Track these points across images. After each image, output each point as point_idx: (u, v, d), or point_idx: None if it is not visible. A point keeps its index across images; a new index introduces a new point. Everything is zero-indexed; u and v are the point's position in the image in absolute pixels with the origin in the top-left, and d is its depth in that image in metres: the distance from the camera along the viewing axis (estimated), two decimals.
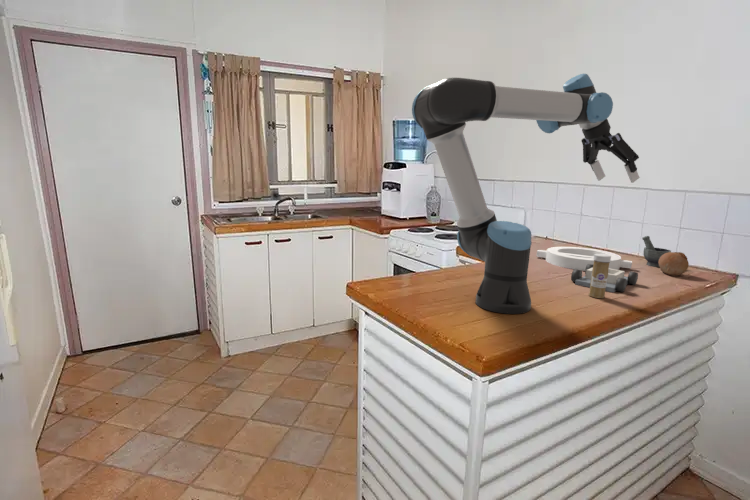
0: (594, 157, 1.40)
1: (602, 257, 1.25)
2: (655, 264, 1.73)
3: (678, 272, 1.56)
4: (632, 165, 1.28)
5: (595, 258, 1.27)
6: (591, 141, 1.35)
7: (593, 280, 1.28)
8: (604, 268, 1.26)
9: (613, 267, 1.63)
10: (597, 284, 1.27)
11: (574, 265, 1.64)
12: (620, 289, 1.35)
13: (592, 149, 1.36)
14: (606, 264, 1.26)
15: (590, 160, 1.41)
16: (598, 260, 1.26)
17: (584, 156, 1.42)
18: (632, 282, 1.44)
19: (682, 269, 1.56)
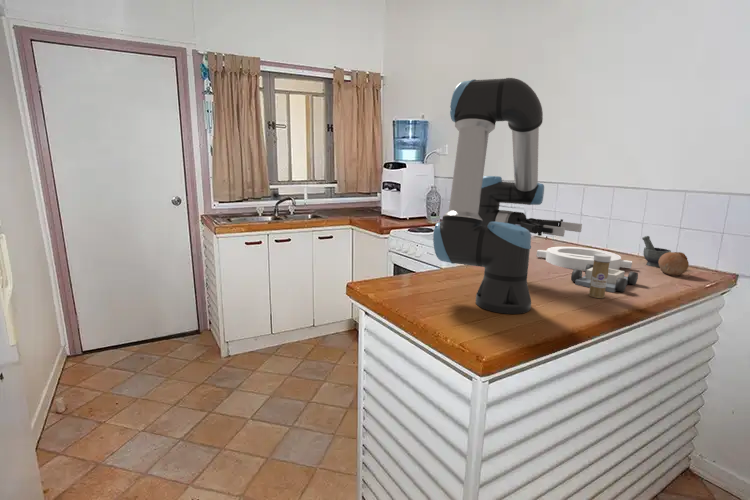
0: None
1: (602, 257, 1.25)
2: (655, 264, 1.73)
3: (678, 272, 1.56)
4: None
5: (595, 258, 1.27)
6: (523, 221, 1.42)
7: (593, 280, 1.28)
8: (604, 268, 1.26)
9: (613, 268, 1.63)
10: (597, 284, 1.27)
11: (574, 265, 1.64)
12: (620, 289, 1.35)
13: (530, 220, 1.39)
14: (606, 264, 1.26)
15: (539, 224, 1.34)
16: (598, 260, 1.26)
17: (531, 224, 1.34)
18: (632, 282, 1.44)
19: (682, 269, 1.56)
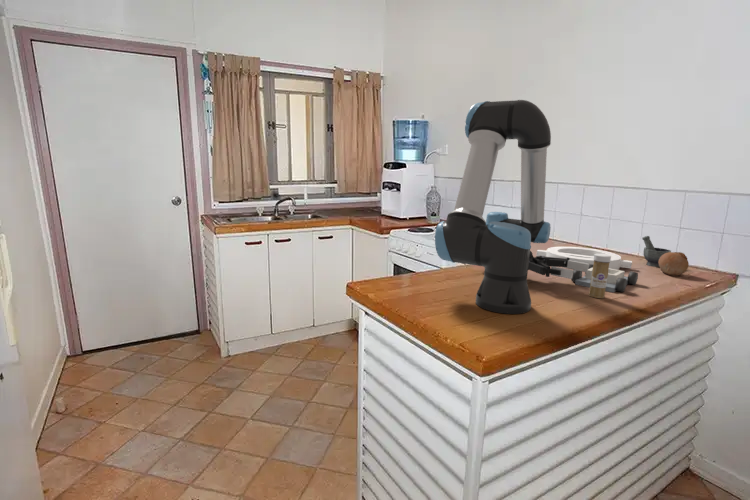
0: None
1: (602, 257, 1.25)
2: (655, 264, 1.73)
3: (678, 272, 1.56)
4: None
5: (595, 258, 1.27)
6: (530, 260, 1.42)
7: (593, 280, 1.28)
8: (604, 268, 1.26)
9: (613, 267, 1.63)
10: (597, 284, 1.27)
11: None
12: (620, 289, 1.35)
13: (538, 260, 1.40)
14: (606, 264, 1.26)
15: (546, 265, 1.34)
16: (598, 260, 1.26)
17: (539, 265, 1.34)
18: (632, 282, 1.44)
19: (682, 269, 1.56)
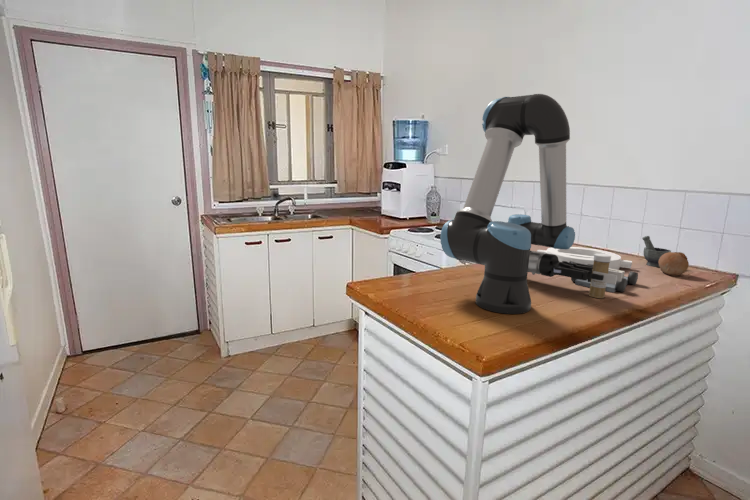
0: None
1: (602, 257, 1.25)
2: (655, 264, 1.73)
3: (678, 272, 1.56)
4: None
5: (595, 258, 1.27)
6: (556, 265, 1.35)
7: (593, 280, 1.28)
8: (604, 268, 1.26)
9: (613, 267, 1.63)
10: (597, 284, 1.27)
11: None
12: (620, 289, 1.35)
13: (568, 265, 1.33)
14: (606, 264, 1.26)
15: (586, 270, 1.29)
16: (598, 260, 1.26)
17: (578, 270, 1.28)
18: (632, 282, 1.44)
19: (682, 269, 1.56)
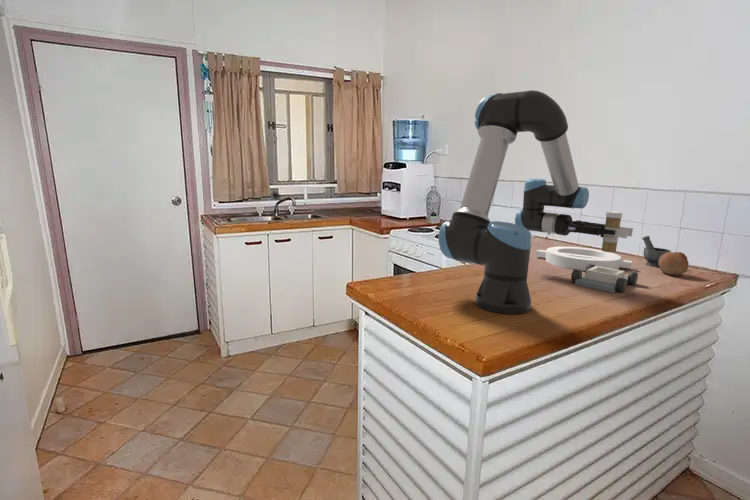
0: None
1: (614, 213, 1.35)
2: (655, 264, 1.73)
3: (678, 272, 1.56)
4: None
5: (607, 215, 1.37)
6: (571, 223, 1.45)
7: (605, 236, 1.38)
8: (616, 224, 1.36)
9: (613, 268, 1.63)
10: (609, 239, 1.37)
11: (574, 265, 1.64)
12: (620, 289, 1.35)
13: (582, 223, 1.43)
14: (617, 220, 1.36)
15: None
16: (610, 216, 1.36)
17: (591, 227, 1.38)
18: (632, 282, 1.44)
19: (682, 269, 1.56)
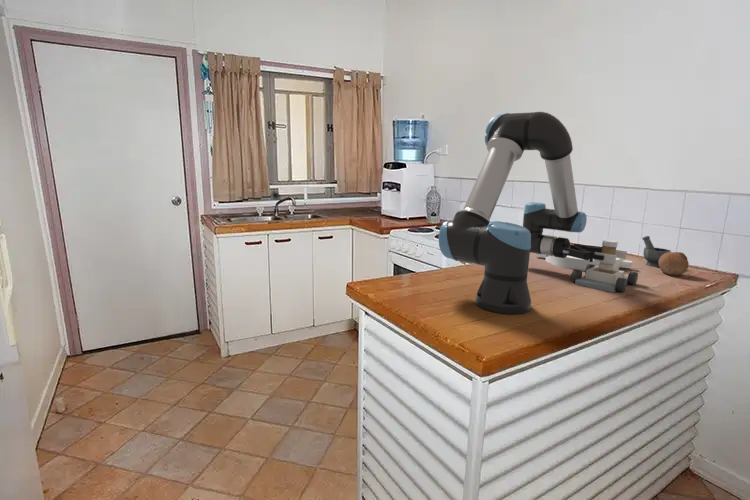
0: None
1: (610, 242, 1.42)
2: (655, 264, 1.73)
3: (678, 272, 1.56)
4: None
5: (603, 243, 1.43)
6: (569, 247, 1.50)
7: (601, 264, 1.44)
8: (612, 252, 1.42)
9: (613, 267, 1.63)
10: (605, 267, 1.43)
11: (574, 265, 1.64)
12: (620, 289, 1.35)
13: (577, 247, 1.48)
14: (613, 249, 1.42)
15: (589, 251, 1.43)
16: (606, 245, 1.42)
17: (582, 251, 1.42)
18: (632, 282, 1.44)
19: (682, 269, 1.56)
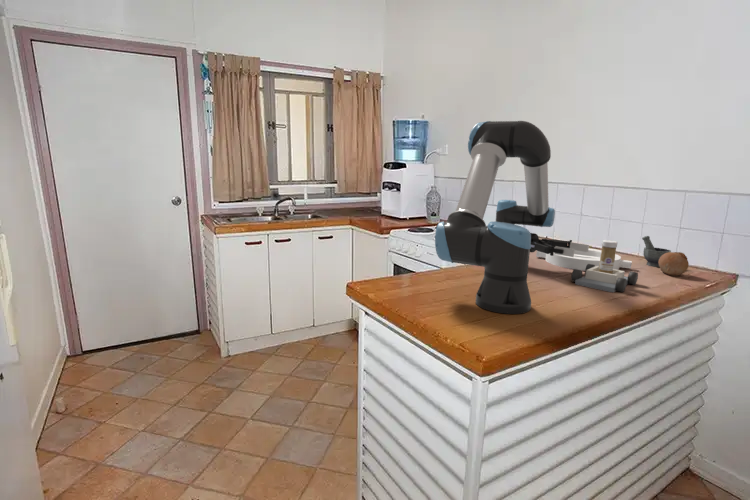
0: None
1: (610, 243, 1.41)
2: (655, 264, 1.73)
3: (678, 272, 1.56)
4: None
5: (603, 244, 1.43)
6: (536, 241, 1.59)
7: (601, 264, 1.44)
8: (611, 253, 1.42)
9: (613, 268, 1.63)
10: (605, 267, 1.43)
11: (573, 265, 1.64)
12: (620, 289, 1.35)
13: (543, 241, 1.57)
14: (613, 249, 1.42)
15: (551, 245, 1.51)
16: (606, 245, 1.42)
17: (544, 245, 1.51)
18: (632, 282, 1.44)
19: (682, 269, 1.56)
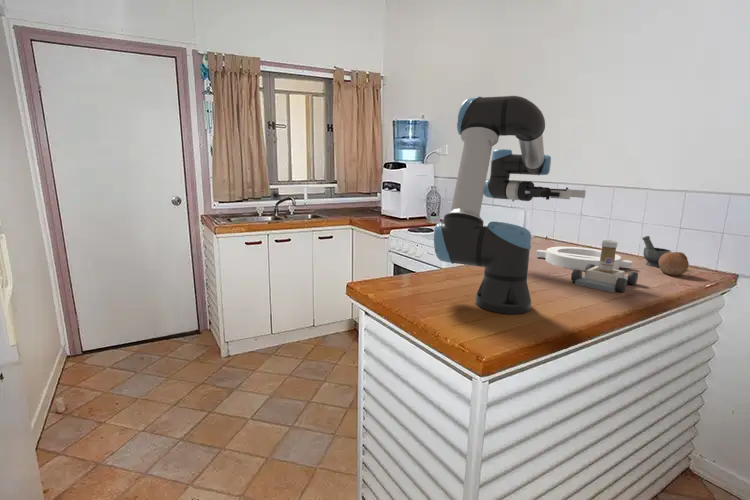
0: None
1: (610, 243, 1.41)
2: (655, 264, 1.73)
3: (678, 272, 1.56)
4: None
5: (603, 244, 1.43)
6: None
7: (601, 264, 1.44)
8: (611, 253, 1.42)
9: (613, 268, 1.63)
10: (605, 267, 1.43)
11: (573, 265, 1.65)
12: (620, 289, 1.35)
13: (539, 187, 1.53)
14: (613, 249, 1.42)
15: (547, 190, 1.47)
16: (606, 245, 1.42)
17: (540, 190, 1.47)
18: (632, 282, 1.44)
19: (682, 269, 1.56)
